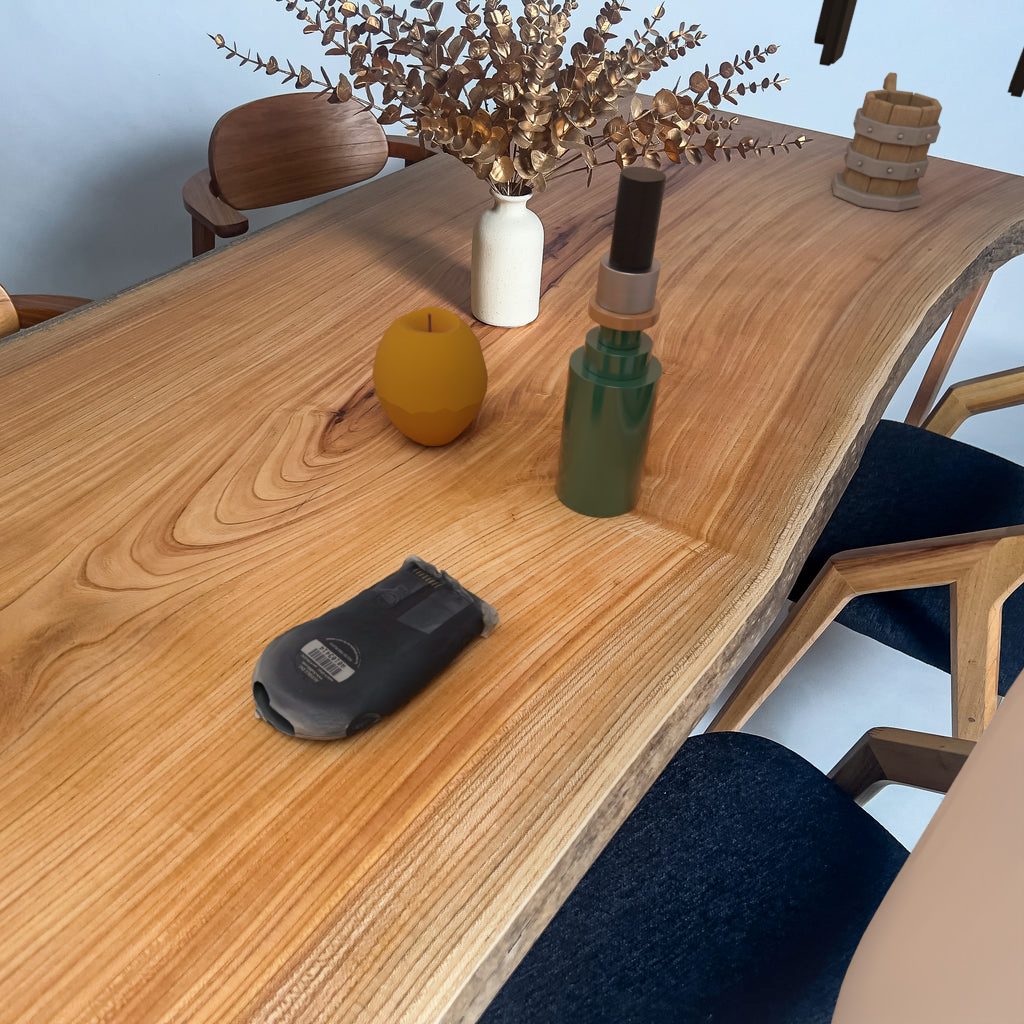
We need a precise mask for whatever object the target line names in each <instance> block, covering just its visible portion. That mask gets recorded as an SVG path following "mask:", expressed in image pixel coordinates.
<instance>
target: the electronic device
mask: <svg viewBox="0 0 1024 1024" xmlns="http://www.w3.org/2000/svg"><path fill="white" fill-rule="evenodd" d="M499 622H500V618H499V612H498V609H496V608H495V607H494V606H492V605H491V604H490V603H488V602H487V601H485V600H484V599H482V598H481V597H480V596H477V595H476V594H475V593H474V592H471V591H470V590H468V589H467V588H466V587H464V586H463V585H462V584H461V583H460V582H459V580H457V579H456V578H453V577H452V576H451V575H450V574H449V573H448V572H447V571H446V570H445V569H440V570H438V569H437V566H436V565H435V564H432V563H429V562H427V561H425V560H424V559H423V558H421V557H420V556H418V555H416V554H410V555H408V556H407V557H406V558H405V559H404V560H403V562H402V564H401V566H400V568H399V569H398V570H396V571H394V572H392V573H391V574H389V575H387V576H386V577H384V578H383V579H381V580H380V581H379V580H378V581H377V582H376V583H373V584H371V586H369V587H368V588H365V589H363V590H362V591H360V592H358V594H356V595H354V596H353V597H351V598H349V599H347V600H346V601H345V602H343V603H342V604H340V605H337V606H336V607H333V608H331V609H329V610H328V611H326V612H324V613H323V614H321V615H320V616H319V617H315V618H312V619H310V620H307V621H305V622H302V623H300V624H297V625H295V626H293V627H291V628H290V629H288V630H285V632H283V633H282V634H280V635H278V636H276V637H275V638H274V639H272V640H271V641H270V642H269V643H268V644H267V645H266V646H265V648H264V649H263V650H262V653H261V654H260V655H259V657H258V659H257V661H256V662H255V666H254V668H253V672H252V676H251V689H252V695H253V701H254V704H255V709H254V718H256V719H260V718H261V719H262V720H264V721H265V722H266V723H267V724H268V725H270V726H271V727H272V728H274V729H276V730H277V731H279V732H281V733H282V734H285V735H287V736H292V737H295V738H300V739H305V740H310V741H311V740H312V741H313V740H314V741H332V740H333V741H334V740H335V741H336V740H340V739H346V738H350V737H352V736H354V735H356V734H358V733H360V732H362V731H364V730H366V729H368V728H369V727H371V726H374V725H376V724H378V723H380V722H381V721H382V720H383V719H384V718H387V717H390V716H392V715H393V714H395V713H396V712H397V711H398V710H400V709H401V708H402V707H404V706H405V705H407V704H408V703H409V702H410V701H411V700H412V699H413V698H414V697H415V696H417V695H419V693H421V691H422V690H423V689H425V688H426V687H427V686H428V685H429V684H430V683H431V682H432V681H433V680H434V679H436V678H437V677H439V676H440V674H442V673H443V672H444V671H445V670H446V669H448V668H449V667H450V666H451V664H452V663H454V661H455V660H456V659H457V658H458V656H459V655H461V653H462V652H463V651H464V650H465V649H466V648H467V647H468V646H469V644H470V643H472V642H473V640H474V639H475V638H477V637H479V636H480V637H483V639H484V640H485V639H489V637H490V635H491V633H492V632H493V631H494V629H495V628H496V626H497V625H498V624H499Z"/></svg>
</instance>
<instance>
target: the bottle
mask: <svg viewBox="0 0 1024 1024" xmlns="http://www.w3.org/2000/svg"><path fill="white" fill-rule="evenodd" d="M586 311H587V315H588V317H589V319H591V320H592V321H593V322H594V323H596V324H597V326H595V327H592V328H591V329H589V330H588V331H587V332H586V333H585V338H584V345H581V346H579V347H577V348H576V349H574V350H573V351H572V352H571V354H570V356H569V359H568V367H567V377H566V384H565V394H564V404H563V411H562V420H561V429H560V430H561V431H560V440H559V450H558V458H557V466H556V475H555V484H554V485H555V486H554V489H555V494H556V496H557V498H558V499H559V501H560V502H561V503H562V504H563V505H564V506H565V507H567V508H568V509H570V510H571V511H574V512H576V513H578V514H581V515H584V516H588V517H592V518H593V517H594V518H613V517H619V516H622V515H624V514H626V513H629V512H630V511H632V510H633V509H634V508H635V507H636V506H637V505H638V503H639V499H640V495H641V490H642V484H643V480H644V474H645V468H646V462H647V458H648V452H649V446H650V441H651V436H652V429H653V425H654V419H655V414H656V409H657V403H658V397H659V391H660V386H661V381H662V377H663V376H662V375H663V364H662V363H661V360H659V358H658V357H657V356H655V355H654V354H653V348H654V341H653V339H652V337H651V336H650V335H649V334H648V333H646V332H645V330H648V329H651V328H653V327H654V326H656V325H657V324H658V323H659V321H660V317H661V311H662V303H661V302H660V300H659V299H658V298H657V297H655V303H654V306H653V308H652V309H651V310H649V311H647V312H645V313H641V314H620V313H616V312H612V311H609V310H607V309H604V308H603V307H601V306H600V305H599V304H598V303H597V301H596V290H595V291H593V292H591V294H589V297H588V301H587V309H586ZM598 324H599V325H598Z"/></svg>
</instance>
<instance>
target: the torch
mask: <svg viewBox="0 0 1024 1024" xmlns="http://www.w3.org/2000/svg"><path fill="white" fill-rule="evenodd" d="M666 182H667V175H666V173H664V172H663V171H661V170H659V169H656V168H653V167H646V166H630V167H629V166H627V167H625V168H623V169H621V170H620V172H619V180H618V188H617V195H616V203H615V211H614V218H613V226H612V234H611V241H610V249H609V251H608V252H606V253H604V254H602V255H601V257H600V259H599V267H598V275H597V283H596V290H595V291H596V301H597V303H598V304H599V305H600V306H601V307H603V308H604V309H607V310H609V311H612V312H616V313H620V314H641V313H645V312H647V311H649V310H651V309H652V308H653V306H654V303H655V297H656V296H657V291H658V284H659V279H660V272H661V262H660V261H659V260H658V259H657V257H654V255H655V249H656V243H657V237H658V230H659V225H660V218H661V211H662V205H663V200H664V193H665V187H666ZM656 298H657V297H656Z"/></svg>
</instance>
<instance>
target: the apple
mask: <svg viewBox="0 0 1024 1024" xmlns="http://www.w3.org/2000/svg"><path fill="white" fill-rule="evenodd" d="M375 350H376V351H375V356H374V361H373V365H372V366H373V367H372V373H371V374H372V380H373V387H374V390H375V394H376V397H377V400H378V402H379V404H380V407H381V409H382V411H383V412H384V413H385V416H387V418H388V419H389V421H390V422H391V423H392V425H393V426H394V427H395V428H396V429H397V430H398V431H399V432H400V433H401V435H404V436H405V437H407V438H408V439H410V440H412V441H413V442H416V443H419V444H421V445H423V446H426V447H441V446H444V445H447V444H450V443H451V442H453V440H455V439H456V438H457V437H459V436H460V434H461V433H462V432H463V431H465V429H466V428H467V427H468V426H469V425H470V424H471V422H472V421H473V420H474V418H475V417H476V416H477V415H478V413H479V412H480V410H481V408H482V406H483V402H484V400H485V397H486V395H487V391H488V381H489V375H488V374H489V373H488V369H487V365H486V361H485V358H484V357H485V356H484V353H483V349H482V345H481V342H480V340H479V337H477V335H476V334H475V332H474V331H473V329H472V327H471V326H470V325H469V324H468V323H467V322H466V321H465V320H463V319H462V318H461V317H460V316H459V315H458V314H456V313H455V312H451V311H450V310H447V309H446V308H442V307H436V306H427V307H422V308H419V309H416V310H413V311H411V312H408V313H405V314H403V315H401V316H399V317H397V318H395V319H394V320H393V321H392V322H391V324H390V325H389V326H388V327H387V329H386V330H385V331H384V333H383V335H382V337H381V339H380V342H379V344H378V346H377V348H376V349H375Z"/></svg>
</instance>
